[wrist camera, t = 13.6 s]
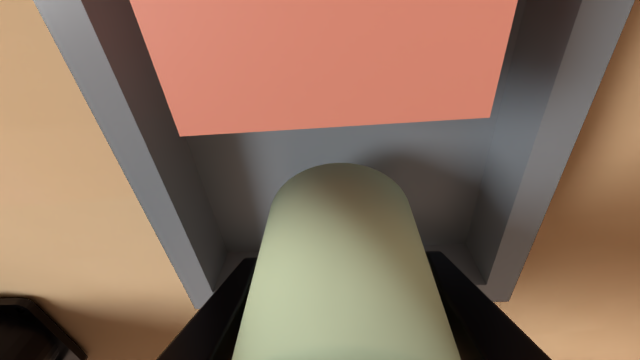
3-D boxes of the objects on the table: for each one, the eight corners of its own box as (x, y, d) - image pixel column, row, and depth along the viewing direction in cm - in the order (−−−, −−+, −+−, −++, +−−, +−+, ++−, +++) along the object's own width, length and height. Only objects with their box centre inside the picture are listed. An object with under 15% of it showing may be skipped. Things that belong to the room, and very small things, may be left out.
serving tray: (480, 248, 14) (508, 301, 11) (215, 258, 14) (195, 308, 12) (661, -375, 5) (891, -615, 3) (6, -261, 6) (-170, -385, 4)
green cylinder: (405, 267, 11) (452, 452, 7) (281, 271, 11) (251, 450, 7) (417, 158, 8) (502, 343, 4) (257, 167, 9) (188, 348, 4)
